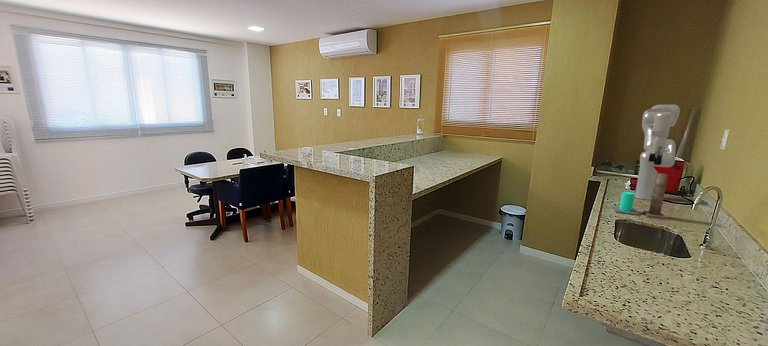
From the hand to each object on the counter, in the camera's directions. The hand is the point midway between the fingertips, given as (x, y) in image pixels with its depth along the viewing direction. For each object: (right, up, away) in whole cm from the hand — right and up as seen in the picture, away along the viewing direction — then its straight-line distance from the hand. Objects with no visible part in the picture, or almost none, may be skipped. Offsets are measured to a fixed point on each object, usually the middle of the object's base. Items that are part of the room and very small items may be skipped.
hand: (654, 163), depth 187 cm
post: (-6, -31, -7) cm, 32 cm away
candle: (-16, -28, +1) cm, 33 cm away
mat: (-17, -29, +1) cm, 33 cm away
